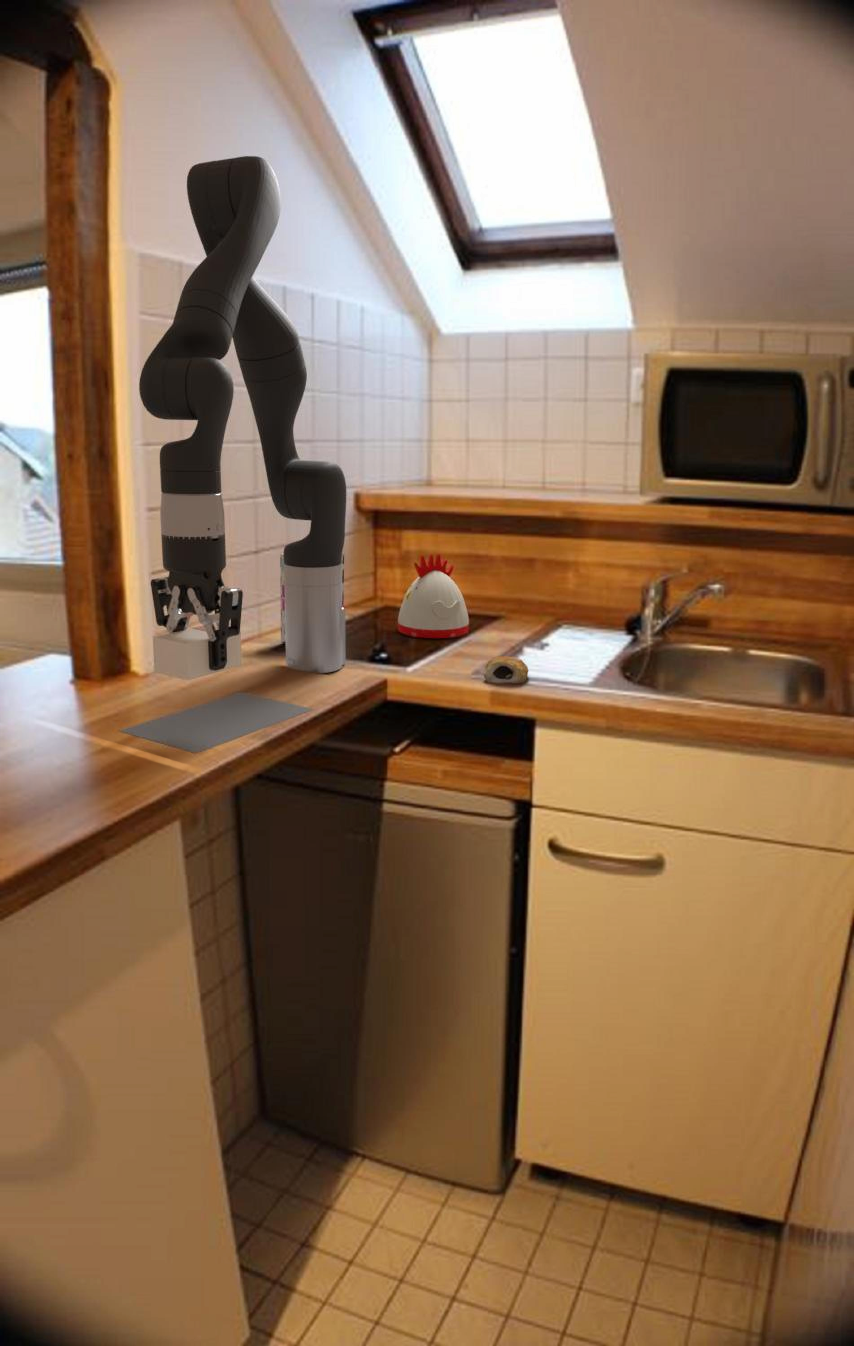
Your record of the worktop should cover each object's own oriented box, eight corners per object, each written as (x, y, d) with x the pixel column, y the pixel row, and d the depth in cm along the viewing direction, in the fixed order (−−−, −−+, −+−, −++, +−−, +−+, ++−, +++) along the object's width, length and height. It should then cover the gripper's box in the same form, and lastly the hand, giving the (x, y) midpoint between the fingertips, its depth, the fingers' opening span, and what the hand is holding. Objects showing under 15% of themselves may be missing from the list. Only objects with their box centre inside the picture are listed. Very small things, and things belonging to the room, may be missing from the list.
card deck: (154, 672, 115) (152, 636, 114) (208, 658, 123) (207, 624, 121) (188, 680, 112) (186, 643, 111) (241, 665, 119) (240, 631, 118)
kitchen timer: (387, 625, 186) (387, 550, 182) (448, 620, 192) (450, 548, 188) (415, 640, 174) (417, 560, 170) (480, 635, 180) (483, 557, 176)
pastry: (492, 669, 156) (493, 646, 155) (532, 672, 154) (534, 650, 153) (482, 683, 147) (483, 660, 146) (524, 687, 146) (525, 664, 145)
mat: (241, 695, 137) (240, 691, 137) (314, 713, 130) (314, 709, 130) (119, 735, 120) (118, 730, 119) (195, 757, 112) (195, 753, 112)
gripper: (128, 528, 114) (136, 662, 118) (212, 538, 106) (217, 680, 110) (176, 523, 120) (182, 651, 124) (258, 532, 112) (261, 668, 116)
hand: (198, 664), depth 117 cm, fingers closed on card deck, 6 cm apart
